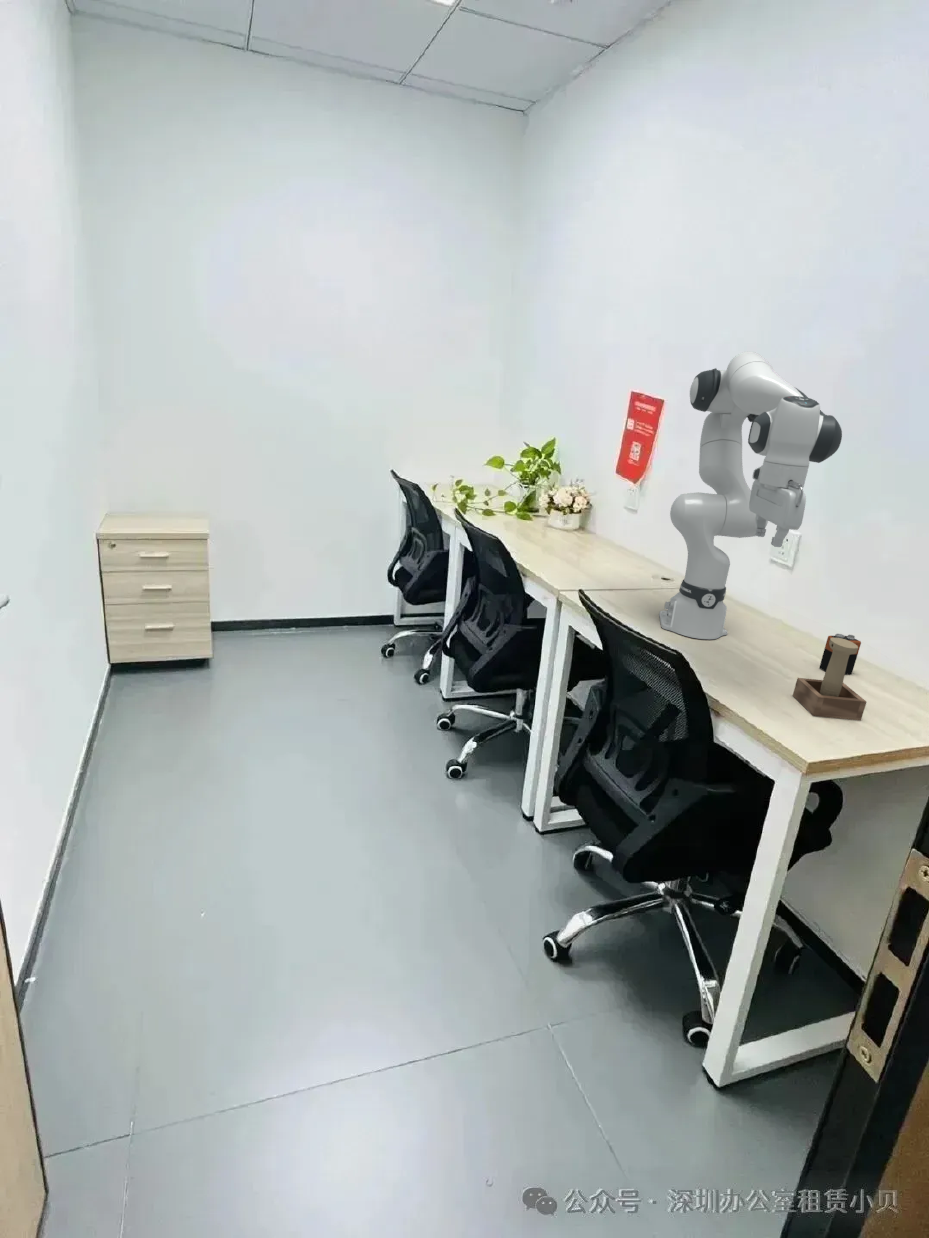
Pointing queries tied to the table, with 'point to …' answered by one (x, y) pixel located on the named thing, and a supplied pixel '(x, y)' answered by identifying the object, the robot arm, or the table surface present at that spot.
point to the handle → (837, 666)
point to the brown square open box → (829, 700)
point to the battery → (828, 651)
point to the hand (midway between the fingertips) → (767, 541)
